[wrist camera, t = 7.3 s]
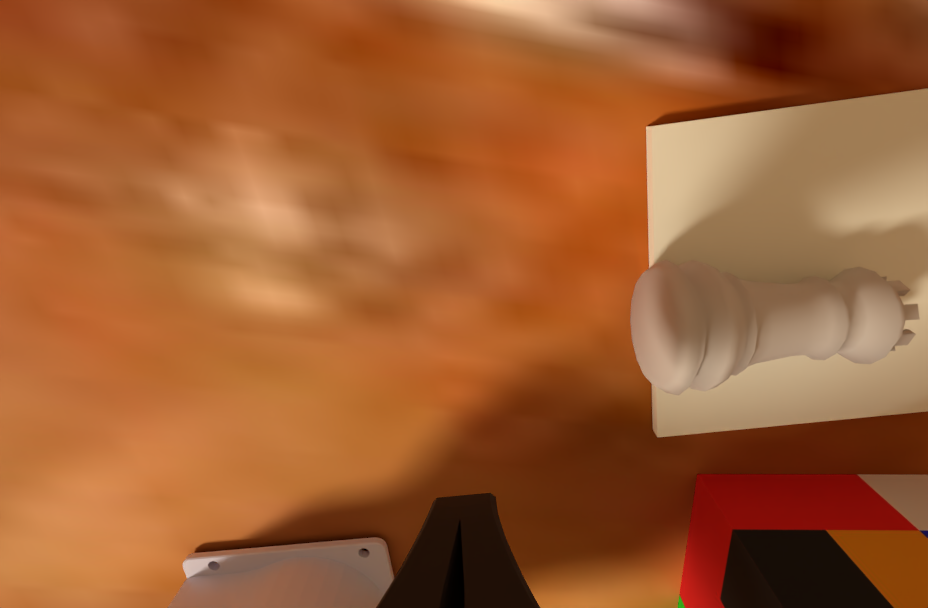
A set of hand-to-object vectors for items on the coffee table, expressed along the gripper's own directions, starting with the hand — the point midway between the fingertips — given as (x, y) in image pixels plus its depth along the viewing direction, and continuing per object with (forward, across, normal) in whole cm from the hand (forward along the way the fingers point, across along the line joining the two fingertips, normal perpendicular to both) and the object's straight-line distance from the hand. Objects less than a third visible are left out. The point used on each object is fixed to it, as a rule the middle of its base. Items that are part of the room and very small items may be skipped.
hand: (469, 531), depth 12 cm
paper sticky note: (+9, -12, -2) cm, 16 cm away
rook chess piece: (+6, -6, -2) cm, 9 cm away
